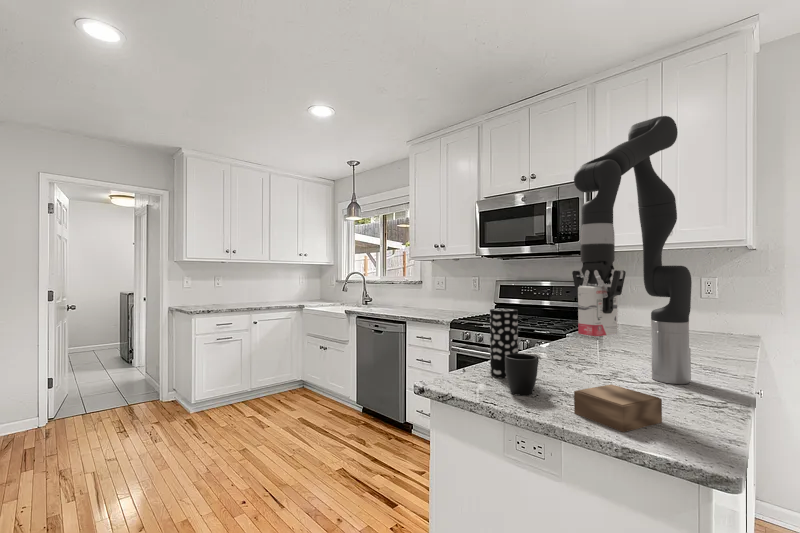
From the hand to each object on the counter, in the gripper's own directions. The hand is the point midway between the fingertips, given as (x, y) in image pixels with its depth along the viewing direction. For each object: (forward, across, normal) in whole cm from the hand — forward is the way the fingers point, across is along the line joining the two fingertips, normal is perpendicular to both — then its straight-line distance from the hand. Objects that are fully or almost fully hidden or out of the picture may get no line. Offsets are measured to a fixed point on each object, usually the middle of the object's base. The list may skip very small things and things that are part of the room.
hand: (597, 312), depth 101 cm
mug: (+22, +14, +10) cm, 28 cm away
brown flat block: (+22, -10, +6) cm, 25 cm away
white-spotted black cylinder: (+22, +30, +4) cm, 38 cm away
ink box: (+6, 0, 0) cm, 6 cm away
